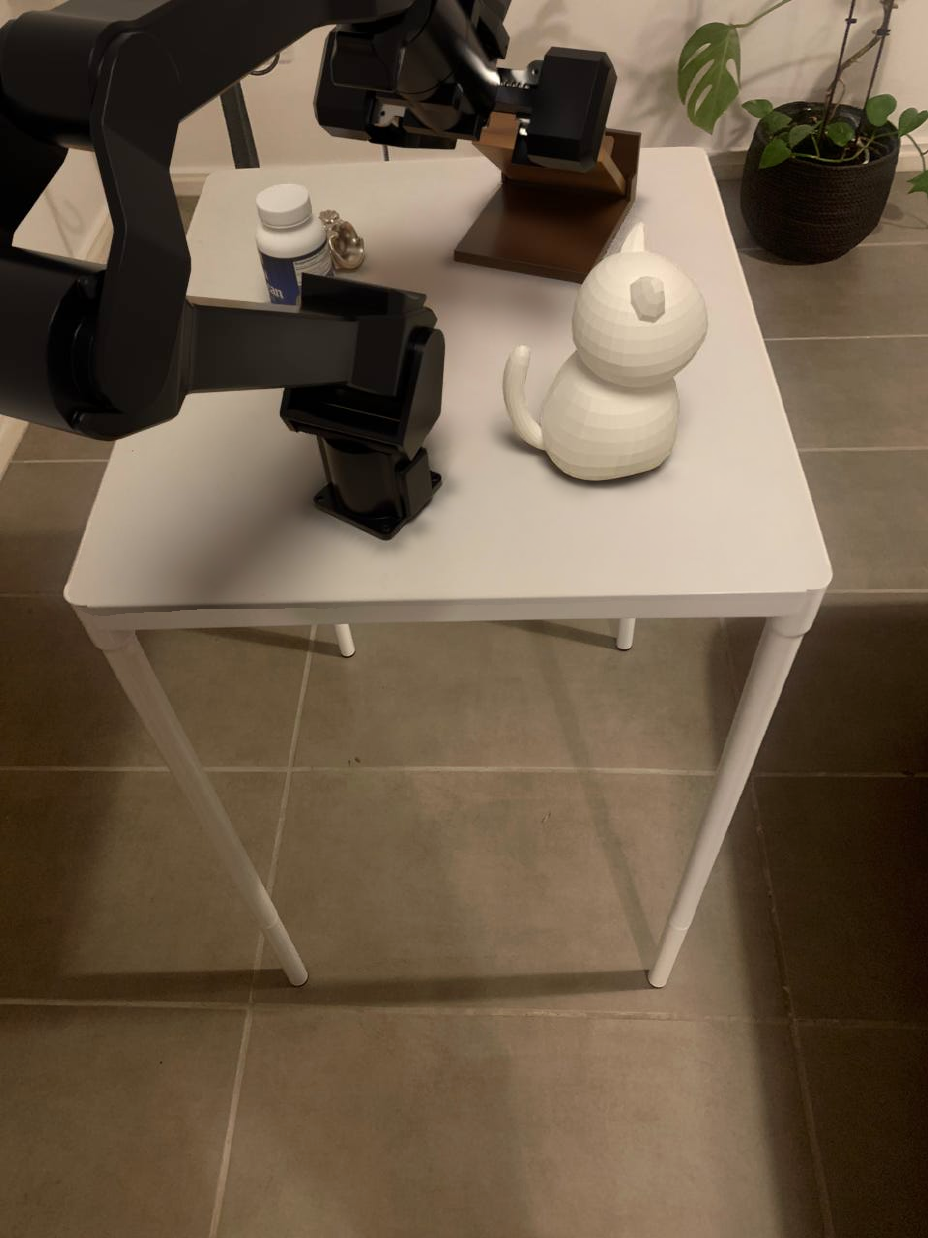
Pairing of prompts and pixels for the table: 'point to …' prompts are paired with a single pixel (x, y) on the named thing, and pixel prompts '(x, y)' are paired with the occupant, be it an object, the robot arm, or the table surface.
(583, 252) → the stand
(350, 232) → the ornament
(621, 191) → the wooden letter rack
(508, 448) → the table surface
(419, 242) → the table surface
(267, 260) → the pill bottle
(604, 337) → the cat figurine
